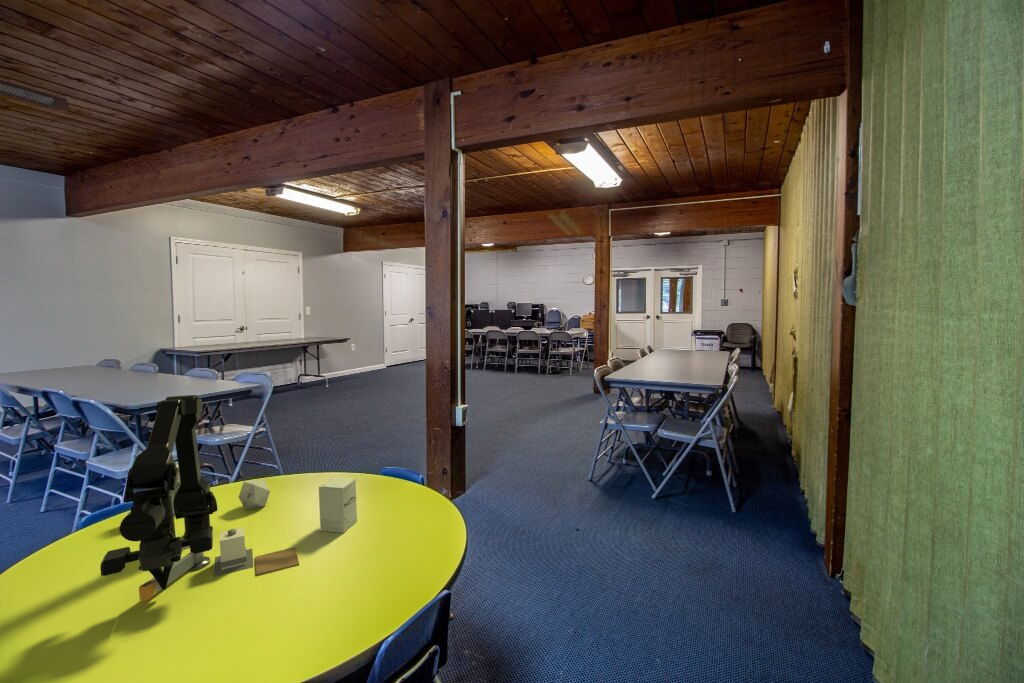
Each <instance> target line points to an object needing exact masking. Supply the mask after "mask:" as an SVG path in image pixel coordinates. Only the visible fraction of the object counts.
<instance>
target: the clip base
mask: <svg viewBox="0 0 1024 683" xmlns="http://www.w3.org/2000/svg"><path fill="white" fill-rule="evenodd" d="M210 564H211V558H210V556H206V555H205V556H204V560H203V561H202V562H200V563H196V564H195V565H194V566H192V567H191V568H189V569H188V570H187V571H189V572H193V571H198V570H201V569H203V568H206V567H208V566H209V565H210Z"/></svg>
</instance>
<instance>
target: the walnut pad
mask: <svg viewBox="0 0 1024 683" xmlns="http://www.w3.org/2000/svg"><path fill="white" fill-rule="evenodd" d="M254 561H255V572H256V573H255V574H256V575H255V576H256V577H258V576H262V575H265V574H270V573H272V572H273V573H274V572H277V571H281V570H284V569H285V570H286V569H288V568H292V567H297V566H300V561H299V557H298V554H297V548H296V546H294V547H289V548H286V549H285V548H284V549H282V550H278V551H277V550H276V551H272V552H270V553H266V554H265V553H264V554H259V555H256V556H254Z"/></svg>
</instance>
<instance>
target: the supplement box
mask: <svg viewBox="0 0 1024 683" xmlns="http://www.w3.org/2000/svg"><path fill="white" fill-rule="evenodd" d="M356 481H357V480H356V478H350V477H348V478H347V477H346V478H345V477H332V478H331V479H329V480H327V481H325V482H324V483H323V484H321V485H320V486H318V500H319V502H318V503H319V504H318V506H319V507H318V508H319V523H320V524H319V527H320V528H319V529H320V531H321V532H329V533H339V534H340V533H341V534H344V533H345V532H346V531H347V530H348V529H350V528H351V527H352V526H353V525H355V523H357V522H358V511H357V510H358V509H357V507H358V505H357V482H356Z"/></svg>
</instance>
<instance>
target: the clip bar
mask: <svg viewBox="0 0 1024 683" xmlns="http://www.w3.org/2000/svg"><path fill="white" fill-rule="evenodd" d="M204 554H205V552H201V553H197V554H194V553H192V552H190V551H189V553H187V554H186V555H184V556H183V557H181V559H180V560H179V561H178V562H175V563H174V564H173V566H172V569H171V571H170V574H169V578H168V582H167V586H168V585H169V584H170V583H172V582H173V581H174V580H176V579H178V578H179V577H180V576H181V575H183V574H184V573H185V572H187V571H188V569H189V568H191V567H192V566H194V565H195V564H196V563H200V562H202V561H203V560H204ZM161 590H162V588H161V587H160V585H159V584H158V582H157V581H156V579H155V578H154V577H152V578H150V579H149V580H147V581H145V582H144V583H142V584H141V585H140V586H138V594H139V601H148V600H150V599H151V598H152V597H154V596H155V595H156V594H157V593H158V592H159V591H161Z"/></svg>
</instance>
